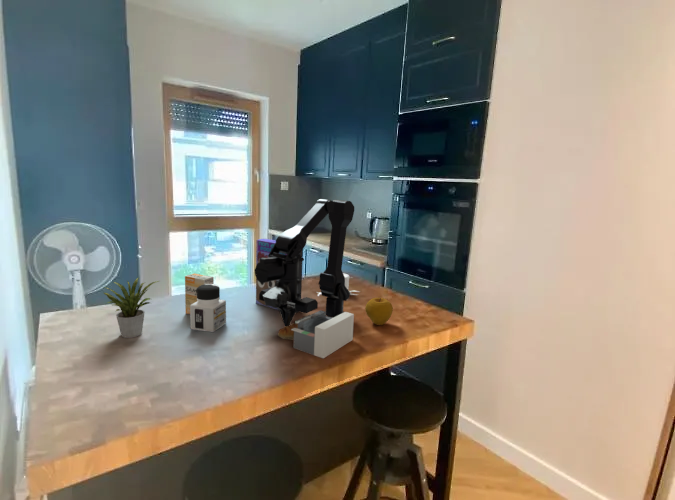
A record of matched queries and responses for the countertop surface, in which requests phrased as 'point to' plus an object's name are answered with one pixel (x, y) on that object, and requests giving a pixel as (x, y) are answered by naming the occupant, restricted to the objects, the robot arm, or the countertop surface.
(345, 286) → the white wide pronged piece
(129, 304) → the house plant
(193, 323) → the container
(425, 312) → the countertop surface
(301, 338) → the white grey open box
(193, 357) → the countertop surface
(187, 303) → the supplement box
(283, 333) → the pastry
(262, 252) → the cereal box
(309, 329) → the gauge pad
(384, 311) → the apple
